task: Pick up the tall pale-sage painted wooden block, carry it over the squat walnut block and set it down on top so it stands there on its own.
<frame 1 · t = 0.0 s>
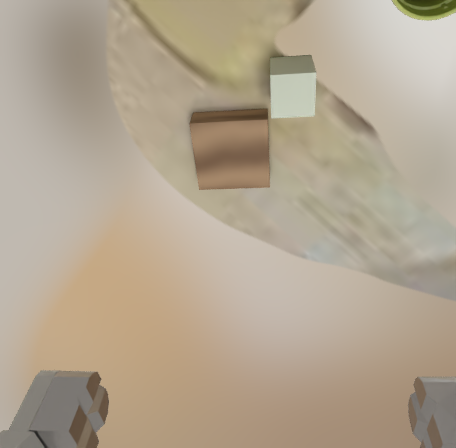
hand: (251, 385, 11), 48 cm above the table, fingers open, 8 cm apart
sage block: (290, 76, 53), on the table
walnut block: (233, 143, 60), on the table
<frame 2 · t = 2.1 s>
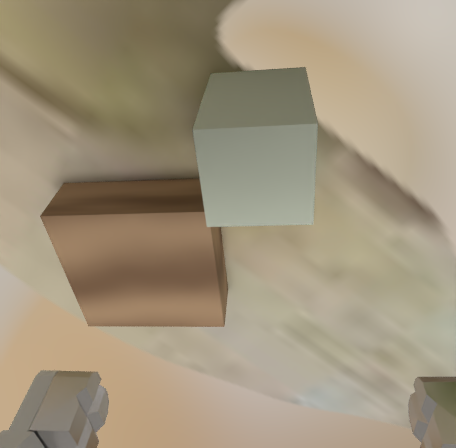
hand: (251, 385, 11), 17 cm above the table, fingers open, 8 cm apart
sage block: (259, 115, 24), on the table
walnut block: (153, 237, 30), on the table
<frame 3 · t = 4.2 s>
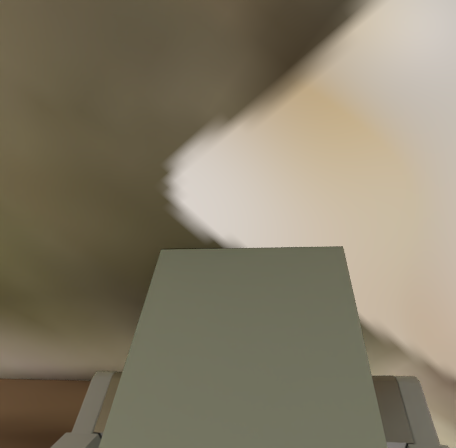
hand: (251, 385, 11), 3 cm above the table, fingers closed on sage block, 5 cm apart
sage block: (254, 310, 13), on the table, touching gripper
walnut block: (91, 436, 20), on the table
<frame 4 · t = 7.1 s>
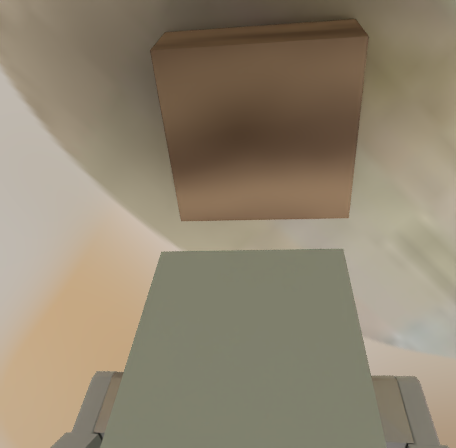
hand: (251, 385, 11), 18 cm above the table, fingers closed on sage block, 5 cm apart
sage block: (254, 312, 13), point 15 cm above the table, touching gripper
walnut block: (261, 113, 25), on the table
when the fingers open (7 cm above the table, at t = 10.2 s): sage block stays where it is, point 4 cm above the table.
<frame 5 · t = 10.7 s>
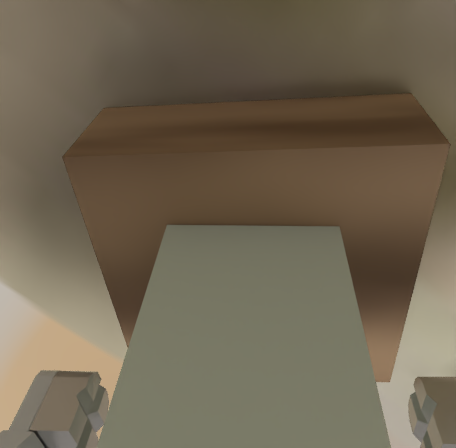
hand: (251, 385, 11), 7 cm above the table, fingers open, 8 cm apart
sage block: (252, 287, 14), point 4 cm above the table
walnut block: (257, 218, 17), on the table
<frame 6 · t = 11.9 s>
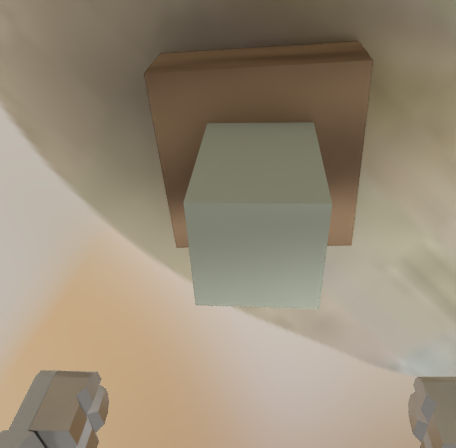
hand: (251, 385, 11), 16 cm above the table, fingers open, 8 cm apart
sage block: (259, 169, 21), point 4 cm above the table, touching walnut block
walnut block: (260, 136, 25), on the table, touching sage block
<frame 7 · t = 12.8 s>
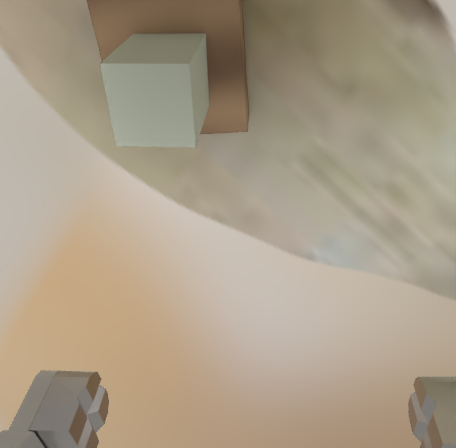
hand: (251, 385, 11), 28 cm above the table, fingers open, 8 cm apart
sage block: (172, 71, 30), point 4 cm above the table
walnut block: (182, 55, 33), on the table
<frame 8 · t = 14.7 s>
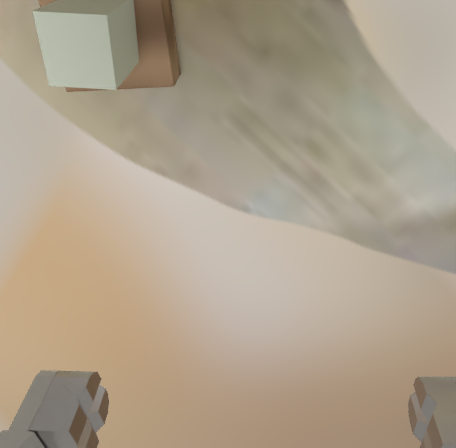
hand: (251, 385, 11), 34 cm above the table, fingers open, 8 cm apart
sage block: (106, 29, 35), point 4 cm above the table
walnut block: (119, 19, 38), on the table
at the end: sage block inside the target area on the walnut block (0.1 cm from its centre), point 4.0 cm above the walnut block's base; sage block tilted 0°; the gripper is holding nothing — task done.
